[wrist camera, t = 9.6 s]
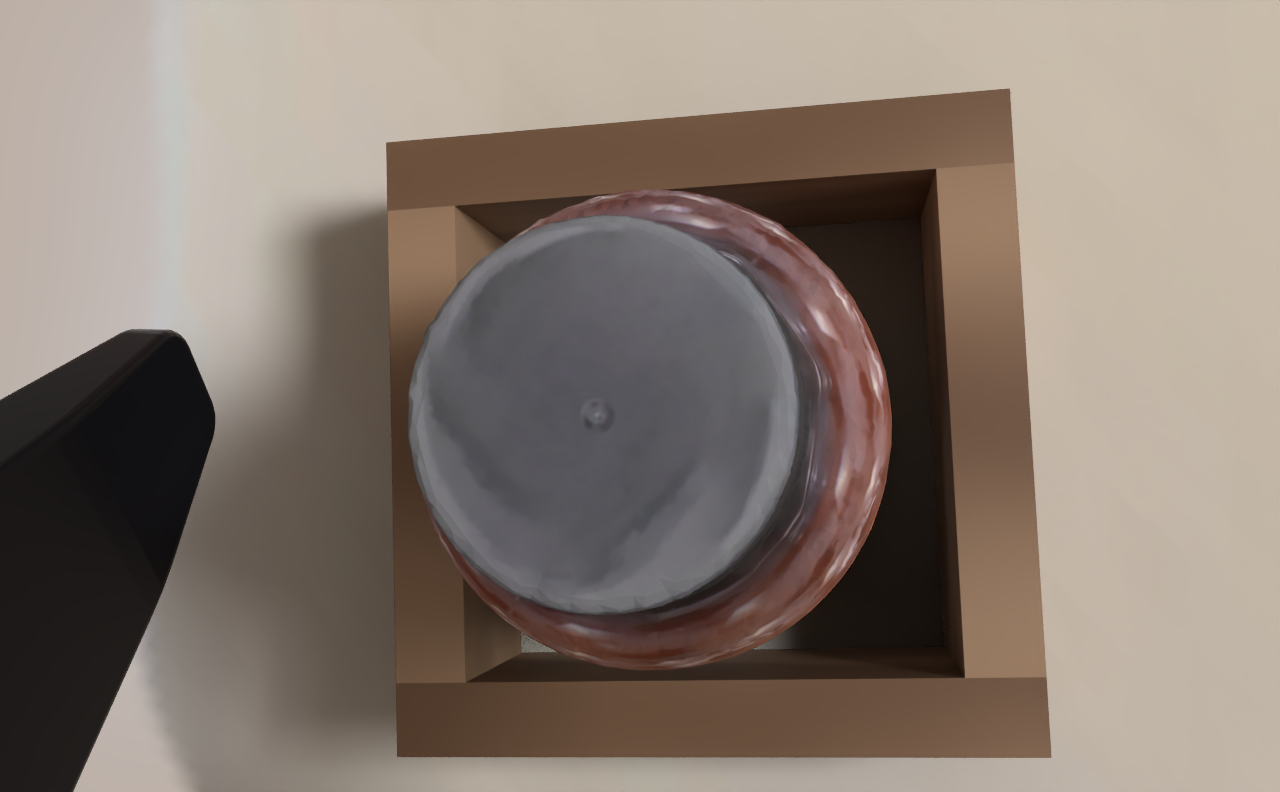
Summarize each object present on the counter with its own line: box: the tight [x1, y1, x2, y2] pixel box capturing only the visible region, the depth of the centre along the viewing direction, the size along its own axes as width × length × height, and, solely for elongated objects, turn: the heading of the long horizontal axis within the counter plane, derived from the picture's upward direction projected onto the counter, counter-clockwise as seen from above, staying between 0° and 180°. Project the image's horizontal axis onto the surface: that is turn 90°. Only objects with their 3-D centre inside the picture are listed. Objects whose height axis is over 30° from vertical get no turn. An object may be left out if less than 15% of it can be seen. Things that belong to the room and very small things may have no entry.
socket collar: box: [386, 89, 1051, 758], centre depth 21 cm, size 10×10×4 cm
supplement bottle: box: [408, 189, 892, 670], centre depth 17 cm, size 6×6×11 cm
